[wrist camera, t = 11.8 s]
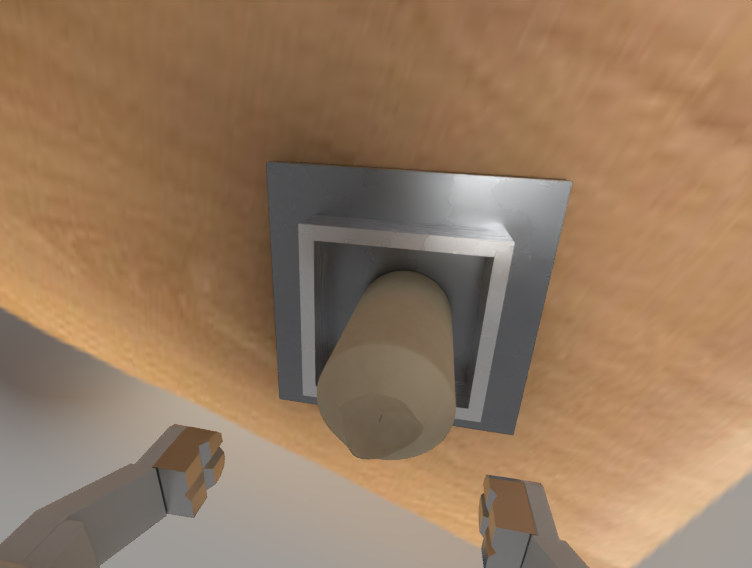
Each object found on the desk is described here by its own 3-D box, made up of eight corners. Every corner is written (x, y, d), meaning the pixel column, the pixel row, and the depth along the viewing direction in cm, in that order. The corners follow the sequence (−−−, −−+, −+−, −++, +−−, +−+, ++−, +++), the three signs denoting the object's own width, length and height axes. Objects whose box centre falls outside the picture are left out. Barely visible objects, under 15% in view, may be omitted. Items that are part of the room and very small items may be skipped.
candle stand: (286, 388, 28) (263, 423, 24) (275, 160, 22) (244, 164, 18) (510, 422, 25) (520, 466, 22) (565, 179, 20) (591, 187, 16)
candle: (412, 368, 24) (392, 511, 15) (342, 316, 23) (277, 431, 14) (471, 308, 22) (491, 432, 13) (396, 250, 21) (360, 334, 12)
